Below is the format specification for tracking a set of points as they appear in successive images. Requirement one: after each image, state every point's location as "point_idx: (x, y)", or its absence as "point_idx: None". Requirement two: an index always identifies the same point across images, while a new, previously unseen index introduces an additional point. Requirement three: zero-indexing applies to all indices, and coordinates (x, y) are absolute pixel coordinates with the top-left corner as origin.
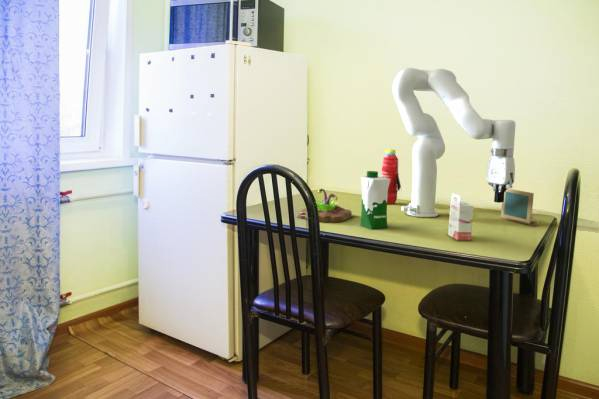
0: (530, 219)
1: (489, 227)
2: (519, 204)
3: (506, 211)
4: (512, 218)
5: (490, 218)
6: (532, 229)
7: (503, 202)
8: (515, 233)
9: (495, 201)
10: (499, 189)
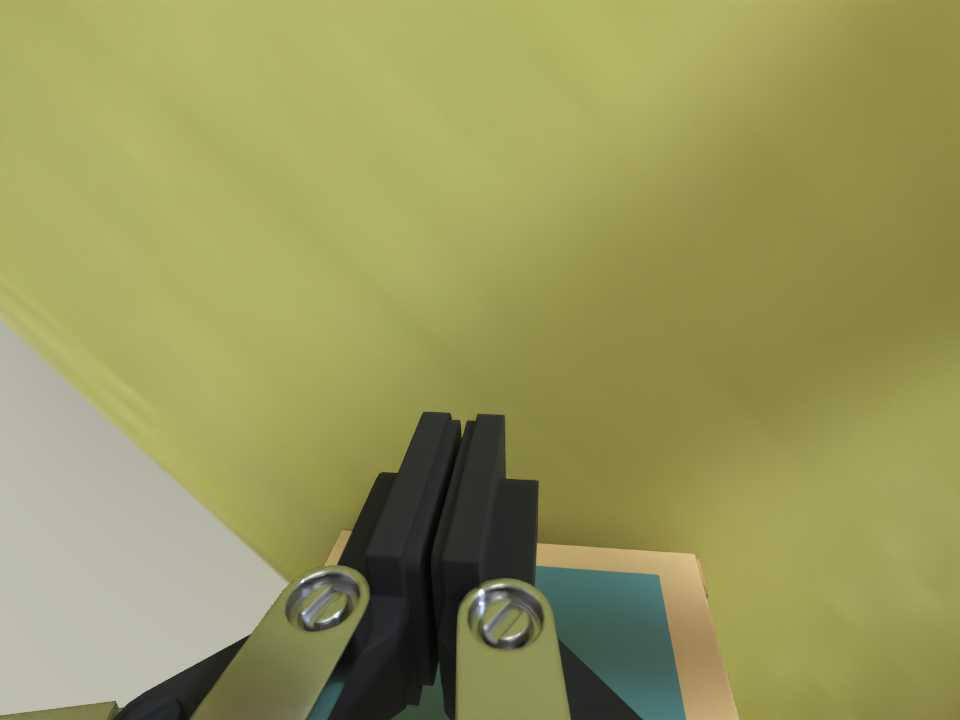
0: (330, 563)
1: (396, 102)
2: (437, 688)
3: (630, 601)
4: (540, 549)
5: (765, 472)
6: (235, 442)
7: (709, 699)
8: (90, 164)
9: (476, 422)
10: (327, 641)
